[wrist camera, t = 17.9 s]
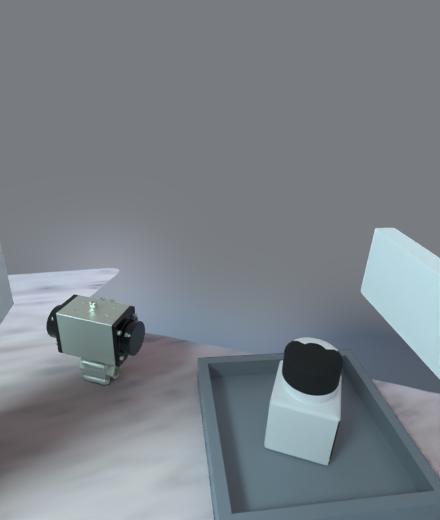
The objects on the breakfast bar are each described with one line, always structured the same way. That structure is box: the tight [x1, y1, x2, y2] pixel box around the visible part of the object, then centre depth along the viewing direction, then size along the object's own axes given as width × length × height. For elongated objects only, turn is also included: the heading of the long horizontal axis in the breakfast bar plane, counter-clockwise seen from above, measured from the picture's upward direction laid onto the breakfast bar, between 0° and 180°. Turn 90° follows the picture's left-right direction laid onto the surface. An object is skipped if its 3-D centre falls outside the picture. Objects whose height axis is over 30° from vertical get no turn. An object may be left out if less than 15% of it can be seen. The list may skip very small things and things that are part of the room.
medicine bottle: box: [264, 337, 343, 465], centre depth 42 cm, size 7×7×12 cm
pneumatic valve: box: [47, 295, 145, 385], centre depth 51 cm, size 6×12×12 cm, turn 74°
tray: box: [197, 350, 440, 520], centre depth 44 cm, size 22×22×4 cm
